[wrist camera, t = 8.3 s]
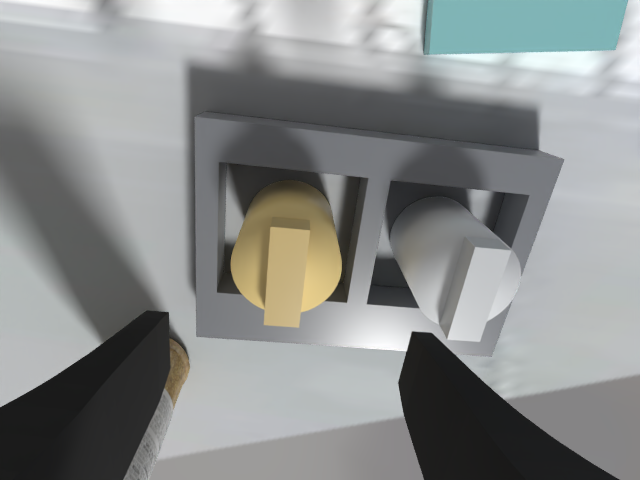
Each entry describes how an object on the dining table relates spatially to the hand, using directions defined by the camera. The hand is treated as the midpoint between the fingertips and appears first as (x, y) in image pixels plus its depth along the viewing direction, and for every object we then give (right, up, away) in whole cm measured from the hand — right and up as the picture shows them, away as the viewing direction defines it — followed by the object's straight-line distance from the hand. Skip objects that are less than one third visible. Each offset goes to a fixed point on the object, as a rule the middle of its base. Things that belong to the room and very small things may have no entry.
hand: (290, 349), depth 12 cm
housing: (+3, +3, +9) cm, 10 cm away
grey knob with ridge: (+7, +3, +9) cm, 12 cm away
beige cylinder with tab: (-1, +4, +9) cm, 10 cm away
